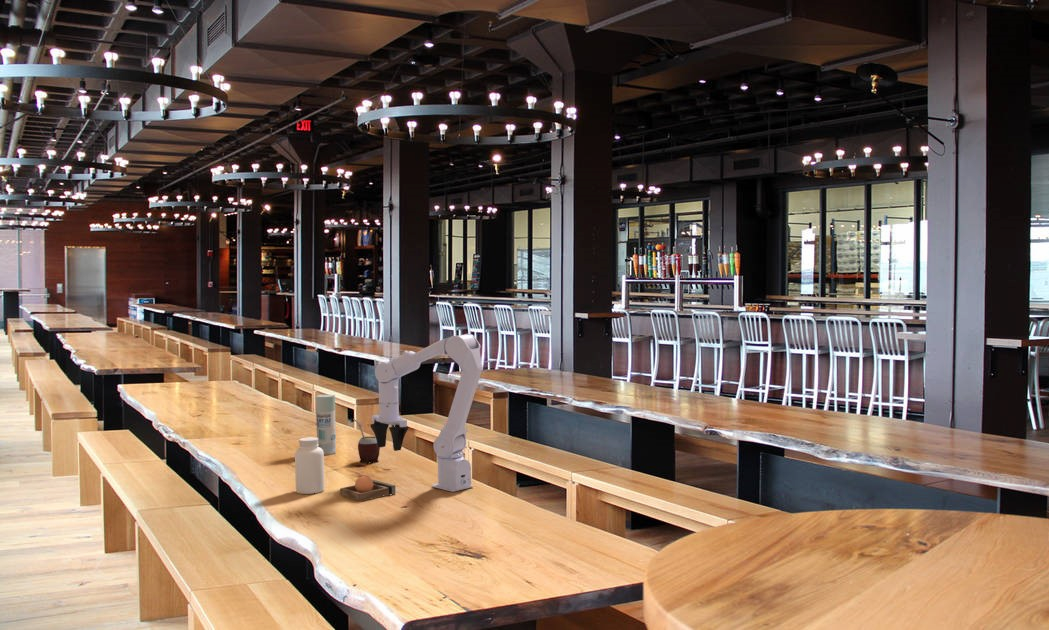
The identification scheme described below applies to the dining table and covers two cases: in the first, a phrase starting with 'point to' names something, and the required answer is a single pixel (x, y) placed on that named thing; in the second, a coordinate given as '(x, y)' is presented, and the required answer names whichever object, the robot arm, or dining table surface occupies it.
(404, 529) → the dining table surface
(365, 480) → the ball
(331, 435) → the spray paint can
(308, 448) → the pill bottle
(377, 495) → the tray
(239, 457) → the dining table surface
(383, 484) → the rail
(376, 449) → the mate gourd
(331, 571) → the dining table surface
